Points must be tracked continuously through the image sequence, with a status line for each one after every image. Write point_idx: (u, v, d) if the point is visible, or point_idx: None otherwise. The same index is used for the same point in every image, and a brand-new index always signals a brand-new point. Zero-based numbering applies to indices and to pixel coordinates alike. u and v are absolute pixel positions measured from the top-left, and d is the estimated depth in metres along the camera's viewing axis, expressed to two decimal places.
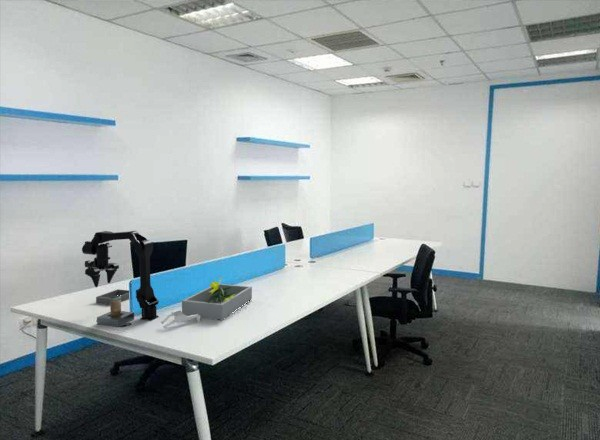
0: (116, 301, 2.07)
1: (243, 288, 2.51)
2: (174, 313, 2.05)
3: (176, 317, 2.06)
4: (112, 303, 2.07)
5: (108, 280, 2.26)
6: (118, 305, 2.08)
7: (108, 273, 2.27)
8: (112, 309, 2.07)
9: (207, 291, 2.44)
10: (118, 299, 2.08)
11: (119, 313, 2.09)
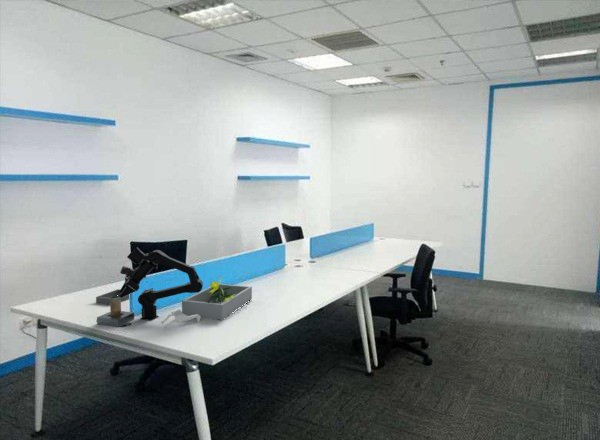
0: (116, 301, 2.07)
1: (243, 288, 2.51)
2: (174, 313, 2.05)
3: (176, 317, 2.06)
4: (112, 303, 2.07)
5: (122, 290, 2.14)
6: (118, 305, 2.08)
7: None
8: (112, 309, 2.07)
9: (207, 291, 2.44)
10: (118, 299, 2.08)
11: (119, 313, 2.09)
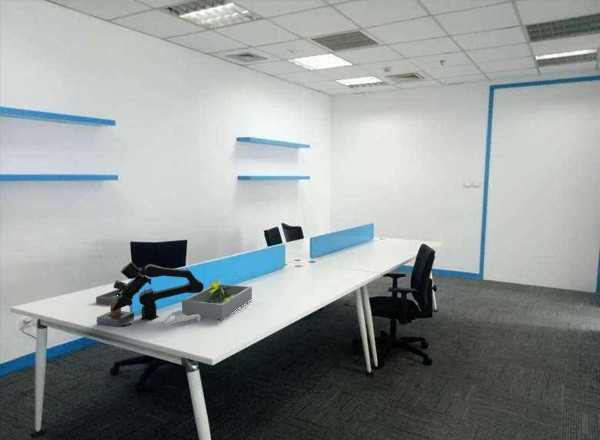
0: (116, 301, 2.07)
1: (243, 288, 2.51)
2: (175, 313, 2.05)
3: (177, 317, 2.06)
4: (112, 303, 2.07)
5: None
6: None
7: None
8: None
9: (207, 291, 2.44)
10: (118, 299, 2.08)
11: (119, 313, 2.09)
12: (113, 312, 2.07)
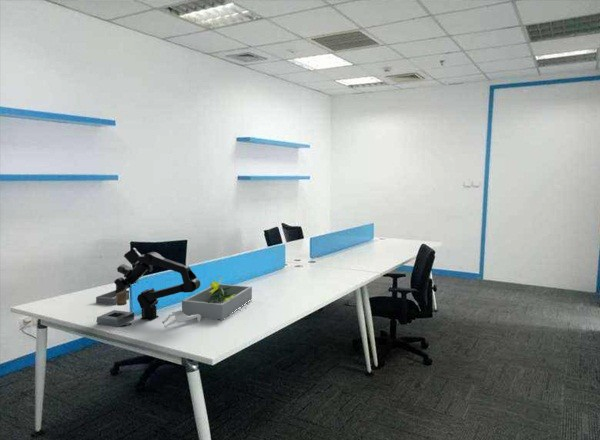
0: None
1: (243, 288, 2.51)
2: (175, 313, 2.05)
3: (177, 317, 2.06)
4: (116, 285, 2.15)
5: None
6: None
7: None
8: None
9: (207, 291, 2.44)
10: None
11: (122, 296, 2.16)
12: (116, 294, 2.16)
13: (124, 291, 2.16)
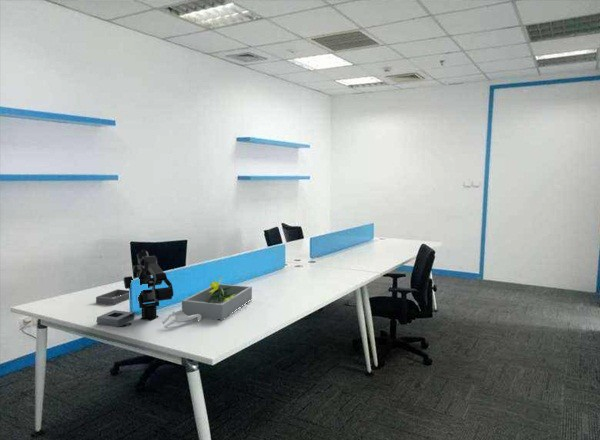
0: None
1: (243, 288, 2.51)
2: (175, 313, 2.05)
3: (177, 317, 2.06)
4: None
5: None
6: None
7: None
8: None
9: (207, 291, 2.44)
10: None
11: None
12: None
13: None
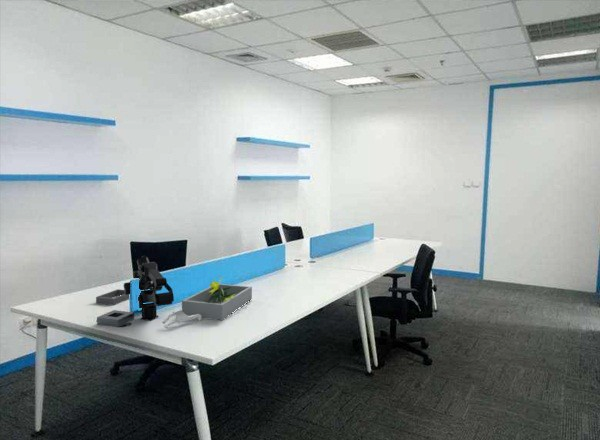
0: None
1: (243, 288, 2.51)
2: (175, 313, 2.05)
3: (177, 317, 2.06)
4: None
5: None
6: None
7: None
8: None
9: (207, 291, 2.44)
10: None
11: None
12: None
13: None
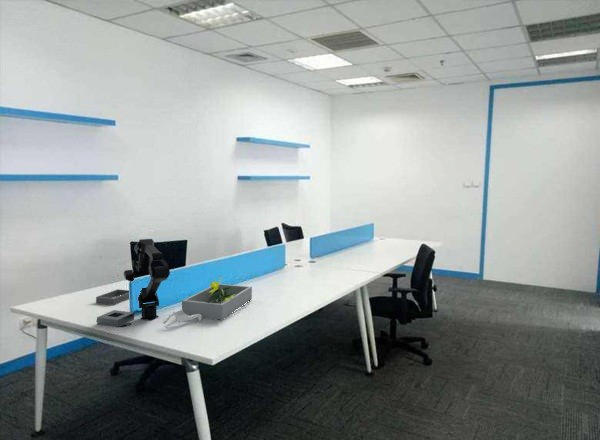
0: None
1: (243, 288, 2.51)
2: (176, 313, 2.06)
3: (178, 317, 2.06)
4: None
5: None
6: None
7: None
8: None
9: (207, 291, 2.44)
10: None
11: None
12: None
13: None
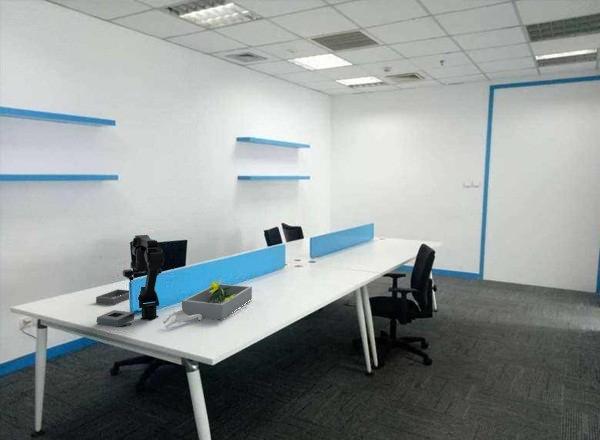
0: None
1: (243, 288, 2.51)
2: (176, 313, 2.06)
3: (178, 317, 2.06)
4: None
5: None
6: None
7: None
8: None
9: (207, 291, 2.44)
10: None
11: None
12: None
13: None
